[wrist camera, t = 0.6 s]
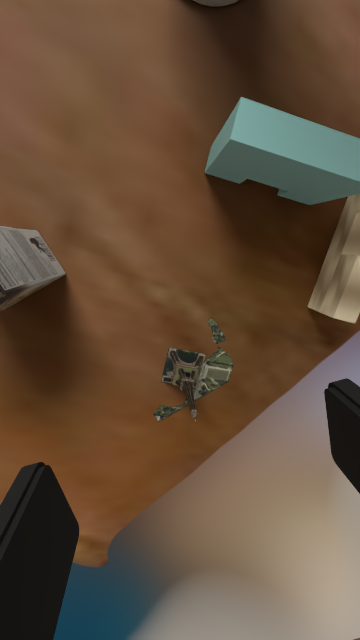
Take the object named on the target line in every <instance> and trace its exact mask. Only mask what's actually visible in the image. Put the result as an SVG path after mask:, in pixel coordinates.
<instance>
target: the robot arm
mask: <svg viewBox="0 0 360 640" xmlns="http://www.w3.org/2000/svg"><path fill="white" fill-rule="evenodd" d="M193 1H195V2H197V3H199V4H203V5H207V6H225V5H229V4H233V3H235V2H237V1H239V0H193ZM325 401H326V410H327V419H328V428H329V436H330V445H331V453H332V457H333V459H334V461H335V463H336V464H337V466H338V467H339V468H340V470H341V471H342V472H343V473H344V475H345V476H346V477H347V478H348V480H349V481H350V482H351V483H352V485H353V486H354V487H355V488H356V489H357V491H358V492H359V493H360V387H359V386H358V385H356V384H355V383H353V382H352V381H351V380H349V379H342V380H339V381H335V382H332V383H329V385H328V389H325ZM78 537H79V525H78V522H77V520H76V518H75V516H74V514H73V512H72V510H71V508H70V506H69V504H68V501H67V499H66V497H65V495H64V493H63V491H62V489H61V487H60V485H59V483H58V481H57V479H56V477H55V475H54V473H53V471H52V469H51V467H50V466H49V465H45V464H44V463H43V462H39V463H35V464H32V465H28V466H24V467H23V468H22V469H21V470H20V472H19V473H18V475H17V477H16V479H15V480H14V482H13V484H12V486H11V487H10V489H9V491H8V493H7V494H6V496H5V498H4V500H3V502H2V503H1V505H0V640H53V638H54V634H55V629H56V625H57V621H58V618H59V613H60V610H61V606H62V602H63V598H64V593H65V590H66V586H67V581H68V577H69V573H70V569H71V565H72V561H73V557H74V553H75V549H76V545H77V541H78ZM354 640H360V638H358V639H354Z"/></svg>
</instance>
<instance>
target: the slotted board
mask: <svg viewBox="0 0 360 640" xmlns="http://www.w3.org/2000/svg"><path fill="white" fill-rule="evenodd" d="M308 308H311V309H313V310H315V311H318V312H320V313H322V314H325V315H327V316H330V317H332V318H335V319H339V320H343V321H347V322H351V323H356V320H357V318H358V315H359V313H360V194H357V195H352V196H348V197H347V200H346V203H345V206H344V208H343V211H342V214H341V217H340V219H339V222H338V225H337V227H336V230H335V233H334V236H333V238H332V241H331V244H330V247H329V249H328V252H327V255H326V257H325V260H324V263H323V266H322V268H321V271H320V274H319V277H318V279H317V282H316V285H315V287H314V290H313V293H312V296H311V298H310V301H309V304H308Z"/></svg>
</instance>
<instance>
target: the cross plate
mask: <svg viewBox="0 0 360 640" xmlns="http://www.w3.org/2000/svg"><path fill="white" fill-rule="evenodd" d="M205 173H206V174H209V175H212V176H216V177H219V178H222V179H225V180H229V181H232V182H235V183H238V184H240V183H242V182H243V181H245V180H246V179H250V180H253V181H256V182H259V183H263V184H266V185H269V186H272V187H276V188H279V191H278V194H277V195H278V196H281V197H284V198H288V199H291V200H294V201H297V202H301V203H304V204H307V205H313V204H318V203H322V202H326V201H331V200H335V199H339V198H344V197H348V196H352V195H357V194H360V139H359V138H356V137H354V136H351V135H348V134H345V133H342V132H339V131H337V130H334V129H331V128H328V127H325V126H322V125H320V124H317V123H314V122H311V121H308V120H306V119H303V118H300V117H297V116H294V115H291V114H289V113H286V112H283V111H280V110H277V109H274V108H272V107H269V106H266V105H263V104H260V103H257V102H255V101H252V100H249V99H246V98H243V97H241V98H240V100H239V102H238V103H237V105H236V106H235V108H234V110H233V111H232V113H231V115H230V116H229V118H228V119H227V121H226V123H225V124H224V126H223V128H222V129H221V131H220V133H219V134H218V136H217V137H216V139H215V141H214V142H213V144H212V146H211V149H210V153H209V157H208V161H207V165H206V169H205Z"/></svg>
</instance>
